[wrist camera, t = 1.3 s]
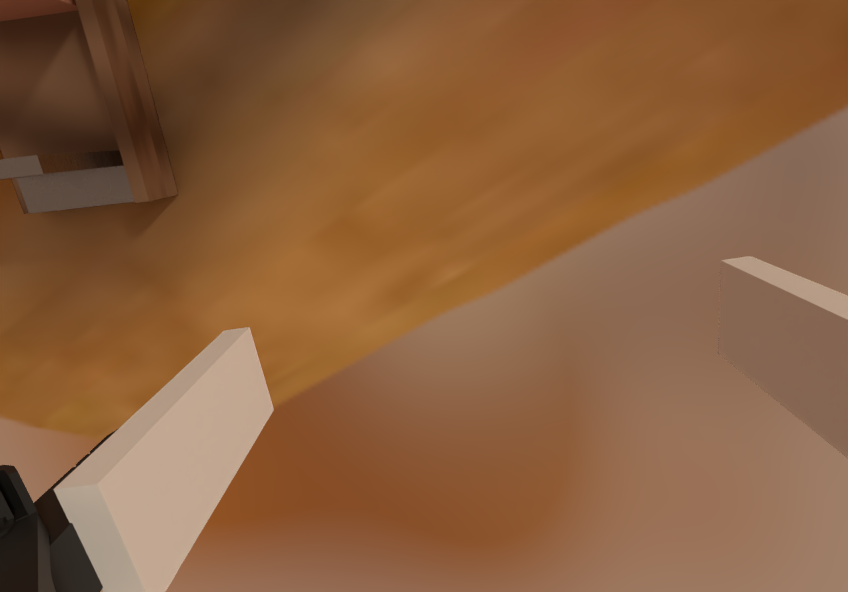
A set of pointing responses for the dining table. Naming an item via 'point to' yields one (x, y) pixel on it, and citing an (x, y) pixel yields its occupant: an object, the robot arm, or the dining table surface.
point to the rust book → (34, 8)
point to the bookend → (69, 180)
